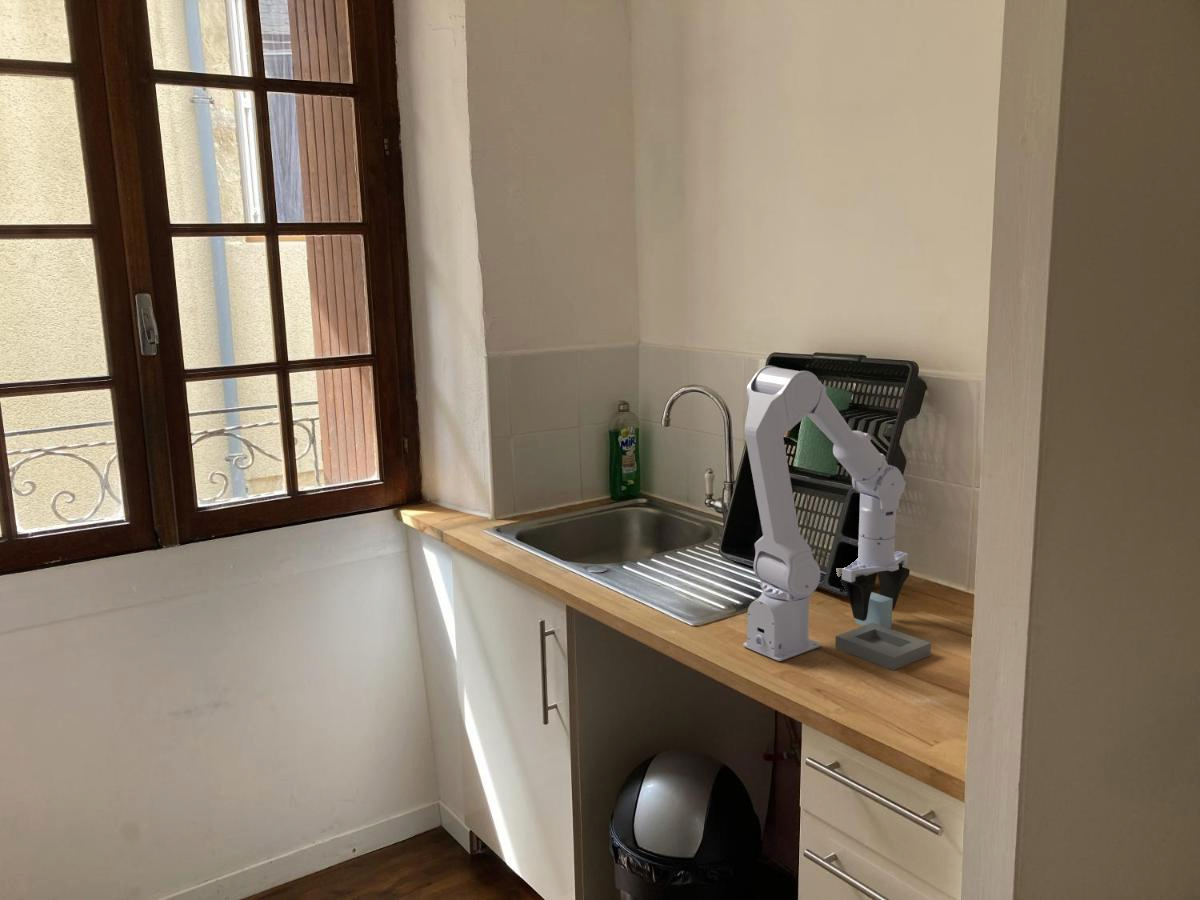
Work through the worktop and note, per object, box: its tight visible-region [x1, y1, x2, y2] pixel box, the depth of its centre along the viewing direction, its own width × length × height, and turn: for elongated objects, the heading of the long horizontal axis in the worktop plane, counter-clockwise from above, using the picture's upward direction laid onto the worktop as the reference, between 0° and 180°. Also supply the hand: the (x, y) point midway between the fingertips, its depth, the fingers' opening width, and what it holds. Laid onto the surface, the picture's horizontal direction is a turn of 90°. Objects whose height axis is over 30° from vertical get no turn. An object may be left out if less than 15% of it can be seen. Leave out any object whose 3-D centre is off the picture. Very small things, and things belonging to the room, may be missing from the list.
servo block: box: [855, 591, 893, 629], centre depth 165 cm, size 3×5×5 cm, turn 37°
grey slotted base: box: [834, 623, 932, 671], centre depth 154 cm, size 9×11×2 cm
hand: (873, 613), depth 165 cm, fingers open, 7 cm apart
